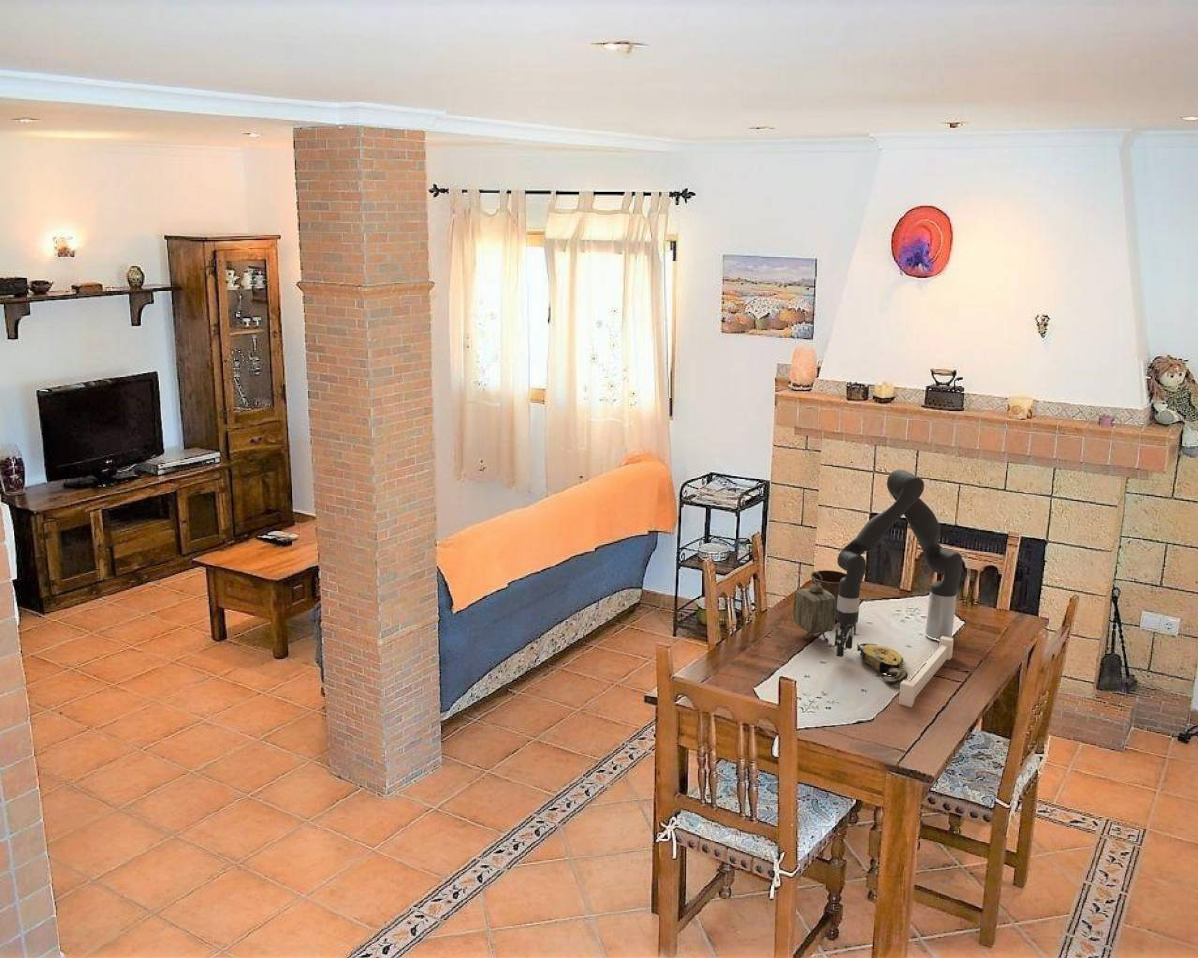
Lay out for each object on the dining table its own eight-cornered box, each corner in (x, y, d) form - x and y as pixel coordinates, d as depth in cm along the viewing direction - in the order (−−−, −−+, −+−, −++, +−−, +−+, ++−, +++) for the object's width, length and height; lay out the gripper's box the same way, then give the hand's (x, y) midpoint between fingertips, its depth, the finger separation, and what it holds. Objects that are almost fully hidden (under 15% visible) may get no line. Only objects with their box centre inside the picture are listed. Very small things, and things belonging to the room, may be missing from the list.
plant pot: (801, 610, 422) (804, 571, 418) (835, 607, 427) (839, 568, 423) (820, 624, 408) (823, 584, 405) (855, 621, 413) (859, 581, 409)
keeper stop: (940, 654, 383) (942, 635, 382) (951, 657, 381) (953, 638, 380) (898, 703, 344) (900, 683, 342) (911, 707, 342) (913, 686, 340)
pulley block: (879, 670, 353) (856, 635, 382) (875, 686, 354) (852, 650, 384) (921, 677, 354) (895, 641, 383) (917, 693, 355) (891, 657, 384)
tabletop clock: (833, 643, 391) (838, 577, 385) (811, 646, 387) (816, 580, 381) (811, 629, 404) (816, 565, 398) (790, 632, 400) (794, 567, 394)
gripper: (844, 599, 380) (840, 643, 384) (829, 611, 369) (826, 656, 373) (865, 604, 377) (861, 648, 381) (851, 616, 365) (847, 661, 369)
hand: (844, 652), depth 377 cm, fingers open, 8 cm apart
